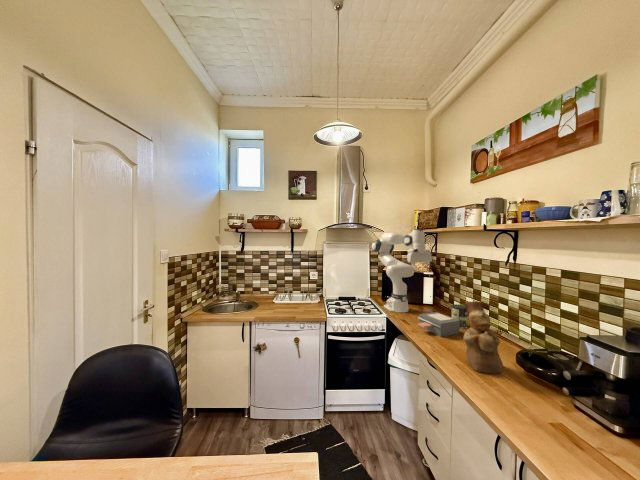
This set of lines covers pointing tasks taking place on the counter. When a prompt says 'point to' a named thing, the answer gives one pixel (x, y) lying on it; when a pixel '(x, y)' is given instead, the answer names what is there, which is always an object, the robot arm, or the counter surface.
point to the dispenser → (440, 324)
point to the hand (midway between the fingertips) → (420, 268)
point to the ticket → (425, 325)
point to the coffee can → (460, 315)
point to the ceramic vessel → (481, 341)
